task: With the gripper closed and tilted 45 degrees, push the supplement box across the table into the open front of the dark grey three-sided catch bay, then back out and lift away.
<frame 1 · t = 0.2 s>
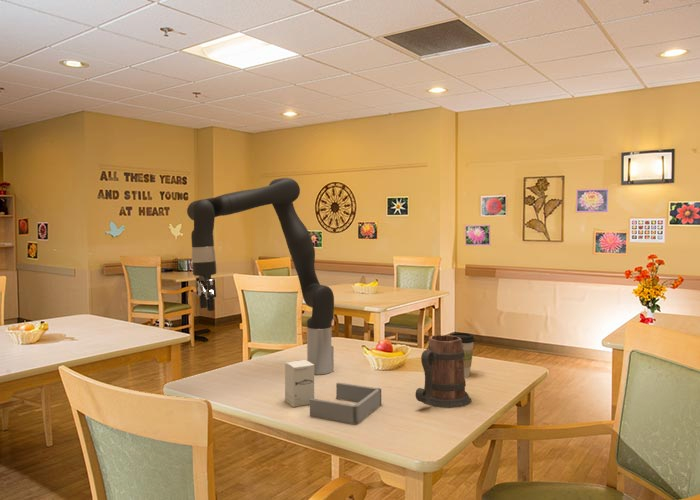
hand: (207, 309, 177), 28 cm above the table, tool pointing down, fingers open, 8 cm apart
tankard: (439, 402, 170), on the table
supplement box: (299, 403, 170), on the table
coffee cup: (461, 375, 199), on the table
catch bay: (344, 409, 163), on the table
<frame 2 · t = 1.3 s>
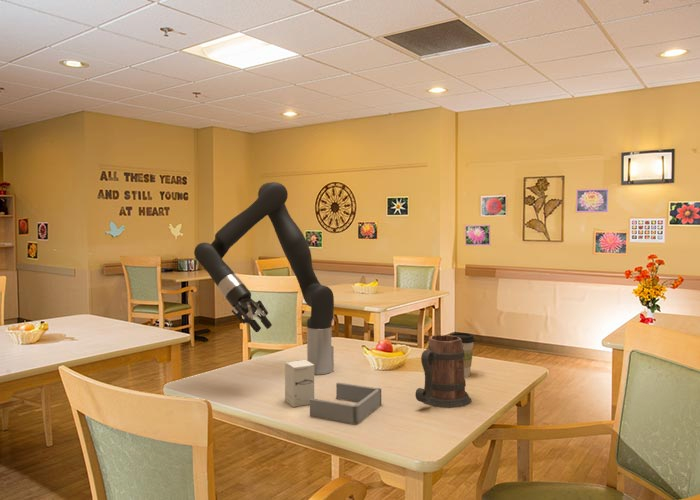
hand: (264, 328, 175), 22 cm above the table, tool tilted 45°, fingers open, 5 cm apart
nothing on the table moved.
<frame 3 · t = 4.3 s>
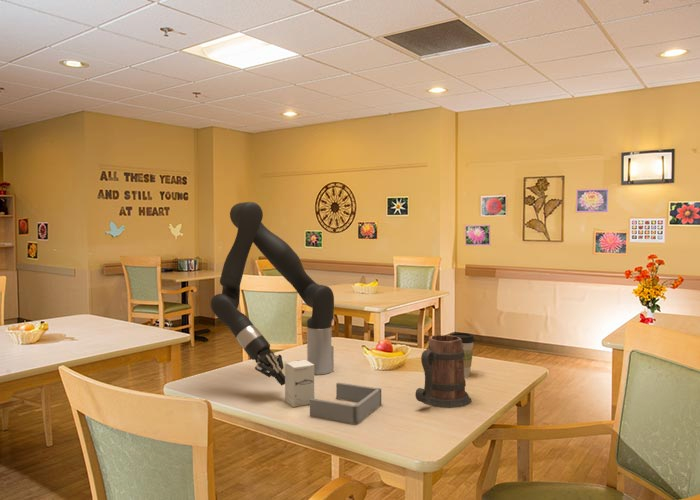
hand: (284, 383, 172), 5 cm above the table, tool tilted 45°, fingers closed
supplement box: (299, 403, 170), on the table, touching gripper
everything else where it was.
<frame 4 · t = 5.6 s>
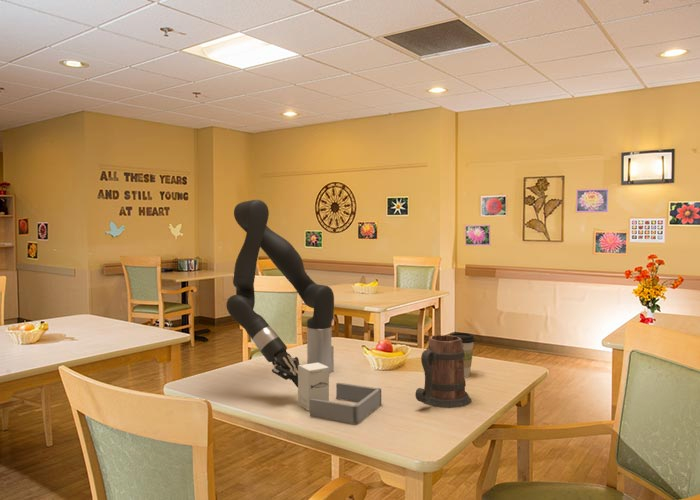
hand: (302, 386, 169), 5 cm above the table, tool tilted 45°, fingers closed
supplement box: (313, 406, 166), on the table, touching gripper
everything else where it was.
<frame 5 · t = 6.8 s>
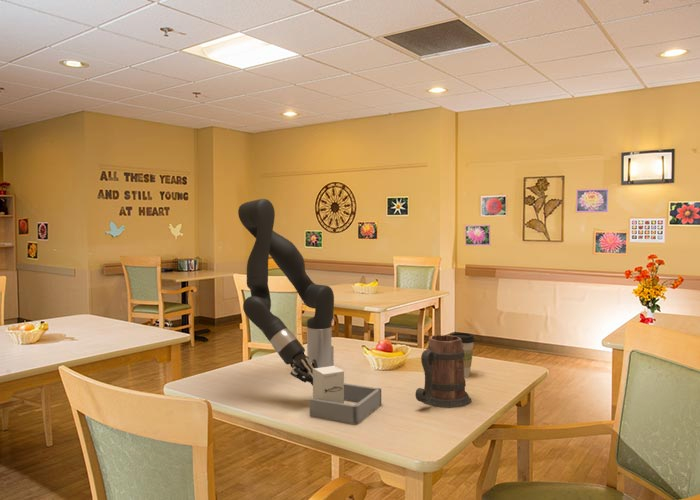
hand: (320, 389, 166), 5 cm above the table, tool tilted 45°, fingers closed
supplement box: (328, 410, 162), on the table, touching gripper
everything else where it was.
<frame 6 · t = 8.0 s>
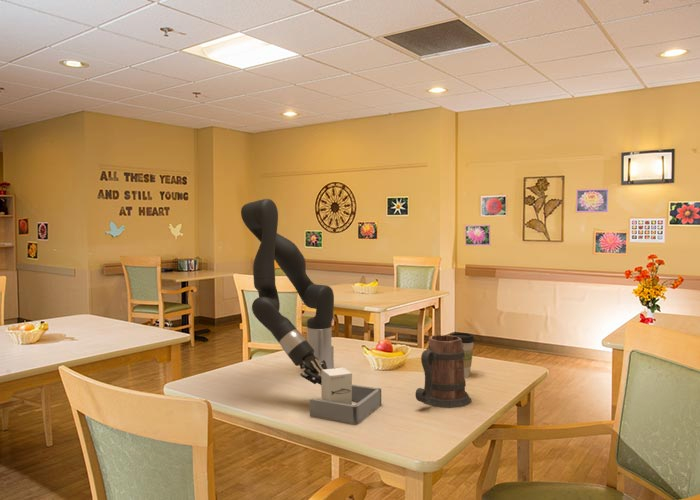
hand: (330, 390, 164), 5 cm above the table, tool tilted 45°, fingers closed
supplement box: (336, 413, 161), on the table, touching gripper
everything else where it was.
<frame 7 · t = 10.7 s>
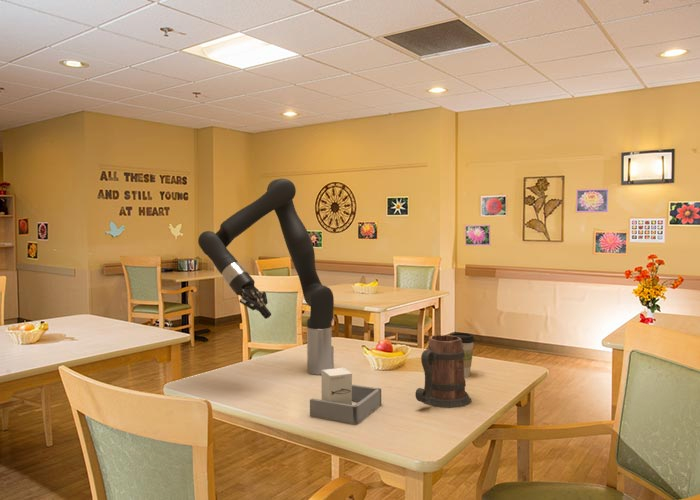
hand: (268, 316, 178), 26 cm above the table, tool tilted 45°, fingers closed
supplement box: (336, 413, 161), on the table
everything else where it was.
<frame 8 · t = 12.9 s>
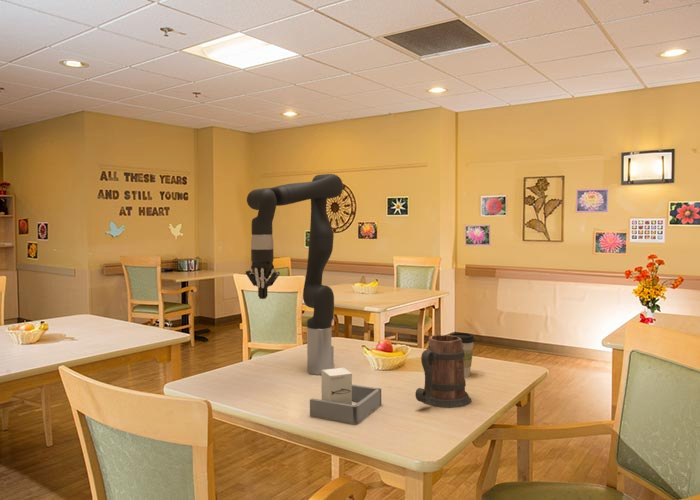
hand: (262, 298, 183), 31 cm above the table, tool pointing down, fingers closed
nothing on the table moved.
at the end: supplement box 3.3 cm from the catch bay (horizontally); supplement box tilted 0°; supplement box moved 15.0 cm from its start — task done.
